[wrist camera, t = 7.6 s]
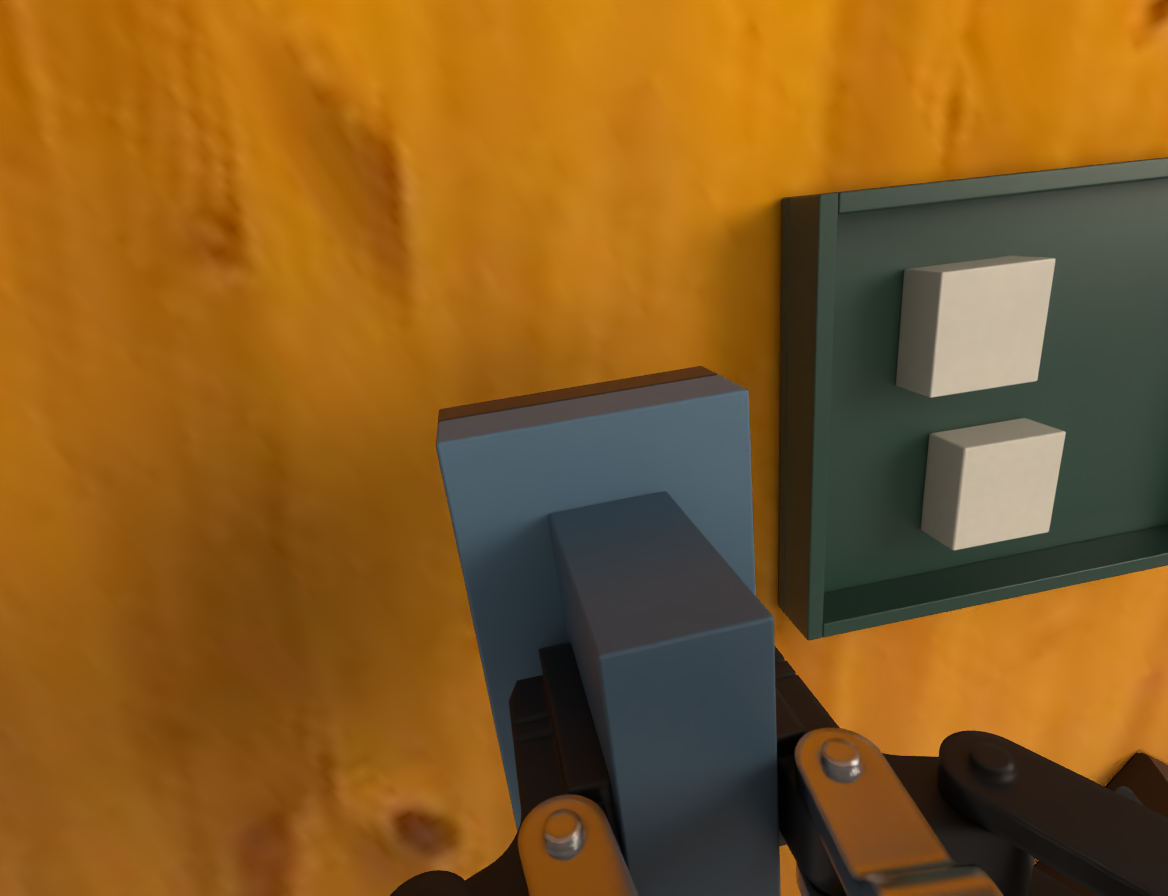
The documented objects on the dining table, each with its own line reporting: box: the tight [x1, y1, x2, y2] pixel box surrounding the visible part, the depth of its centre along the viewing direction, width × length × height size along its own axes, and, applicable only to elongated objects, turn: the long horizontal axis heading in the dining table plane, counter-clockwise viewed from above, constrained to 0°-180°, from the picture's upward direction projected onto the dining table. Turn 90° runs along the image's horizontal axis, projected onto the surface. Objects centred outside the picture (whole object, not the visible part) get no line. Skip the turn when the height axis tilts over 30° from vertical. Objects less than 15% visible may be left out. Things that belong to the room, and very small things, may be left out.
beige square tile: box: [921, 418, 1066, 550], centre depth 23 cm, size 4×4×2 cm
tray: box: [779, 157, 1168, 640], centre depth 23 cm, size 19×15×2 cm
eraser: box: [436, 366, 780, 896], centre depth 12 cm, size 6×10×7 cm, turn 7°
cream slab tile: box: [896, 256, 1056, 398], centre depth 21 cm, size 4×4×2 cm
